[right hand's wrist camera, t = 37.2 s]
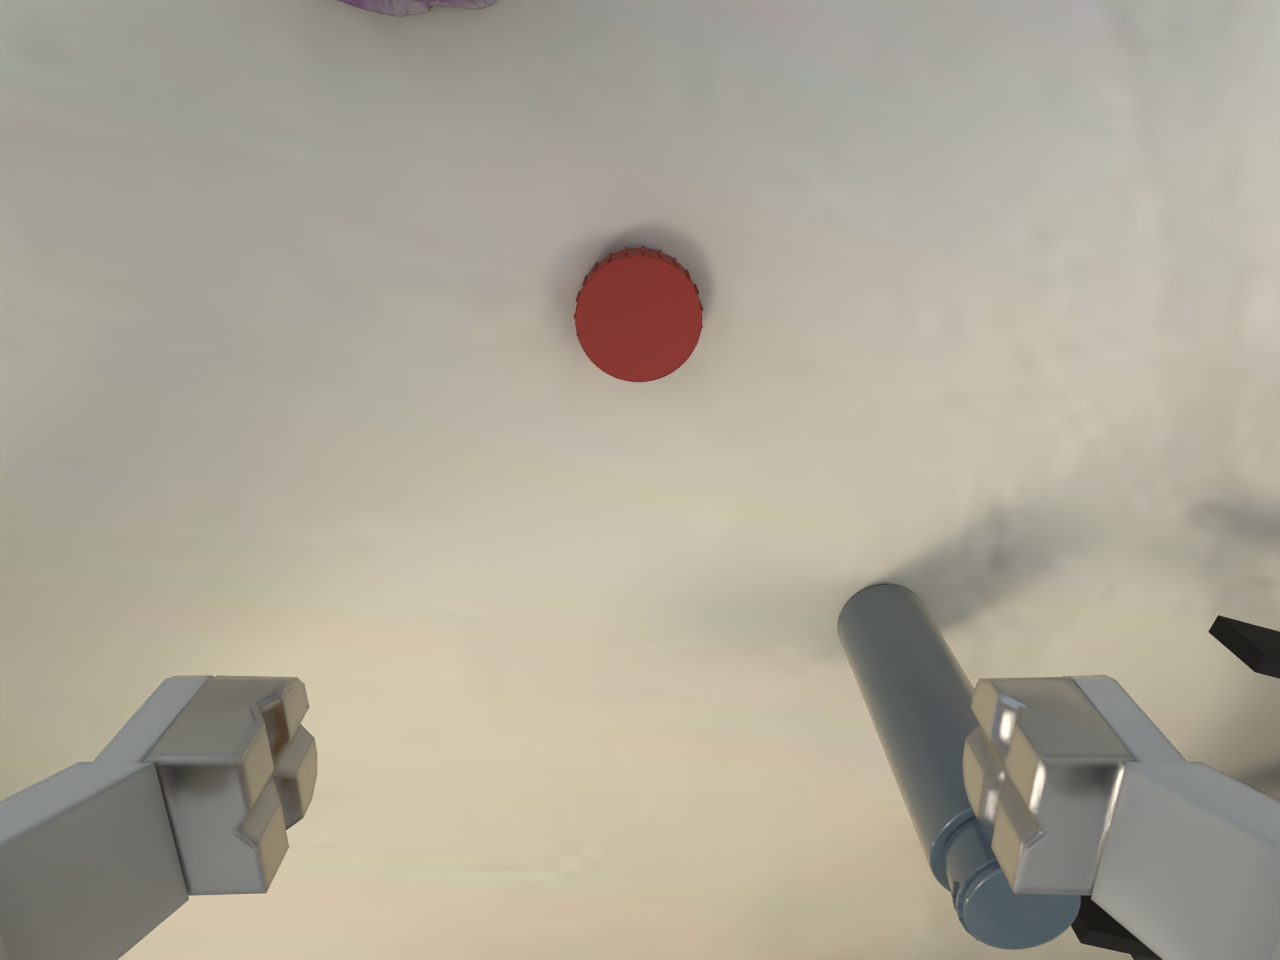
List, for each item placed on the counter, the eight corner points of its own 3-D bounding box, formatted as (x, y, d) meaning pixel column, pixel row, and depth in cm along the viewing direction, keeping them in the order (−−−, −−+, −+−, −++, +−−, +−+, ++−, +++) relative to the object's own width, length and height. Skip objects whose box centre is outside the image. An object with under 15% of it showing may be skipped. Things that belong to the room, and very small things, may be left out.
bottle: (819, 623, 41) (923, 910, 26) (887, 567, 40) (1037, 831, 25) (876, 676, 42) (1008, 979, 27) (944, 621, 41) (1122, 907, 26)
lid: (684, 379, 37) (687, 395, 35) (567, 355, 37) (562, 369, 34) (713, 260, 35) (718, 269, 33) (589, 233, 35) (586, 241, 33)
